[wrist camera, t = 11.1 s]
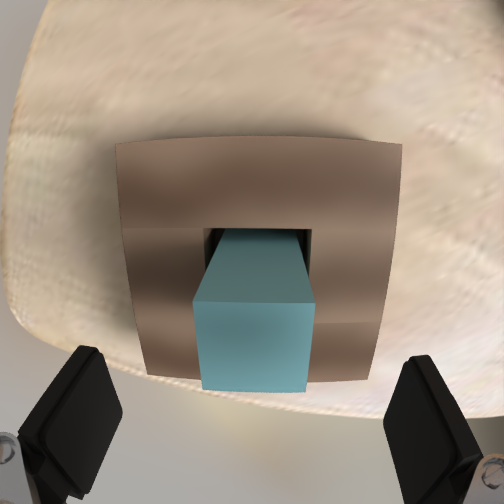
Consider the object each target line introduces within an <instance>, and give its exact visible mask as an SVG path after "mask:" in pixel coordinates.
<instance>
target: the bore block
mask: <svg viewBox="0 0 504 504" xmlns="http://www.w3.org/2000/svg"><path fill="white" fill-rule="evenodd" d="M115 147H116V168H117V183H118V196H119V208H120V218H121V227H122V236H123V244H124V252H125V259H126V266H127V273H128V280H129V286H130V292H131V298H132V304H133V309H134V314H135V320H136V325H137V330H138V335H139V339H140V344H141V349H142V353H143V358H144V362H145V366H146V370H147V374H148V375H156V376H165V377H175V378H186V379H198V380H201V373H200V365H199V357H198V348H197V340H196V331H195V321H194V311H193V299H194V297H195V294H196V292H197V290H198V288H199V286H200V283H201V281H202V279H203V277H204V275H205V272H206V270H207V268H208V266H209V264H210V261H211V259H212V257H213V255H214V253H215V251H216V248H217V246H218V244H219V242H220V240H221V238H222V235H223V233H224V231H225V229H226V228H283V229H295V232H296V236H297V239H298V243H299V246H300V249H301V253H302V256H303V260H304V263H305V267H306V271H307V274H308V278H309V281H310V285H311V289H312V292H313V296H314V300H315V314H314V324H313V333H312V343H311V352H310V360H309V369H308V377H307V382H335V381H353V380H367V379H368V376H369V372H370V368H371V364H372V360H373V356H374V352H375V347H376V343H377V339H378V334H379V329H380V325H381V320H382V315H383V310H384V305H385V299H386V294H387V288H388V282H389V276H390V270H391V263H392V256H393V249H394V241H395V233H396V225H397V215H398V205H399V193H400V179H401V162H402V144H395V143H386V142H376V141H366V140H353V139H340V138H323V137H300V136H216V137H192V138H175V139H162V140H150V141H139V142H129V143H120V144H115Z"/></svg>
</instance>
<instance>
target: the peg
mask: <svg viewBox="0 0 504 504" xmlns="http://www.w3.org/2000/svg"><path fill="white" fill-rule="evenodd" d="M193 311H194V321H195V331H196V340H197V348H198V357H199V365H200V373H201V381H202V388H203V390H215V391H234V392H269V393H293V392H306V384H307V377H308V369H309V360H310V352H311V343H312V333H313V324H314V314H315V300H314V296H313V292H312V289H311V285H310V281H309V278H308V274H307V271H306V267H305V263H304V260H303V256H302V253H301V249H300V246H299V243H298V239H297V236H296V232H295V229H283V228H226V229H225V231H224V233H223V235H222V238H221V240H220V242H219V244H218V246H217V248H216V251H215V253H214V255H213V257H212V259H211V261H210V264H209V266H208V268H207V270H206V272H205V275H204V277H203V279H202V281H201V283H200V286H199V288H198V290H197V292H196V294H195V297H194V299H193Z"/></svg>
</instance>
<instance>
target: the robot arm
mask: <svg viewBox="0 0 504 504" xmlns="http://www.w3.org/2000/svg"><path fill="white" fill-rule="evenodd" d="M122 413H123V412H122V407H121V404H120V402H119V400H118V396H117V394H116V391H115V388H114V386H113V383H112V380H111V377H110V374H109V371H108V368H107V365H106V362H105V359H104V356H103V354H102V353H100V352H99V350H98V349H97V348H95V347H90V346H84V345H80V346H79V347H77V349H76V350H75V351H74V353H73V354H72V355H71V357H70V358H69V360H68V361H67V362H66V364H65V365H64V366H63V368H62V369H61V370H60V371H59V373H58V374H57V376H56V377H55V378H54V380H53V381H52V383H51V384H50V385H49V387H48V388H47V390H46V391H45V392H44V394H43V395H42V397H41V398H40V400H39V401H38V402H37V404H36V405H35V407H34V408H33V410H32V411H31V412H30V414H29V416H28V417H27V419H26V420H25V421H24V423H23V424H22V426H21V427H20V429H19V431H18V433H19V435H18V437H17V438H16V437H15V436H14V435H13V434H11V433H7V432H0V504H67V503H66V499H67V497H68V495H70V496H72V497H75V498H78V499H80V500H82V499H83V497H84V495H85V494H88V493H89V492H90V490H91V488H92V485H93V483H94V481H95V478H96V476H97V473H98V471H99V469H100V466H101V464H102V462H103V459H104V457H105V455H106V452H107V450H108V448H109V445H110V443H111V441H112V439H113V436H114V434H115V432H116V430H117V427H118V425H119V423H120V421H121V418H122ZM383 426H384V430H385V434H386V437H387V441H388V444H389V447H390V451H391V455H392V458H393V462H394V465H395V469H396V473H397V477H398V480H399V484H400V488H401V492H402V496H403V500H404V504H504V455H502V454H490V455H488V456H486V457H483V454H482V452H481V450H480V448H479V446H478V444H477V442H476V440H475V437H474V436H473V433H472V431H471V429H470V427H469V425H468V423H467V421H466V419H465V417H464V415H463V414H462V412H461V410H460V408H459V406H458V404H457V402H456V400H455V398H454V397H453V395H452V394H451V393H450V391H449V389H448V387H447V385H446V384H445V382H444V380H443V378H442V376H441V375H440V373H439V371H438V369H437V368H436V366H435V364H434V362H433V361H432V359H431V357H430V356H429V355H420V356H412V357H410V358H409V360H408V361H406V362H405V363H404V364H403V367H402V370H401V373H400V376H399V379H398V382H397V384H396V387H395V390H394V393H393V395H392V398H391V401H390V403H389V406H388V408H387V411H386V413H385V416H384V419H383Z"/></svg>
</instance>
